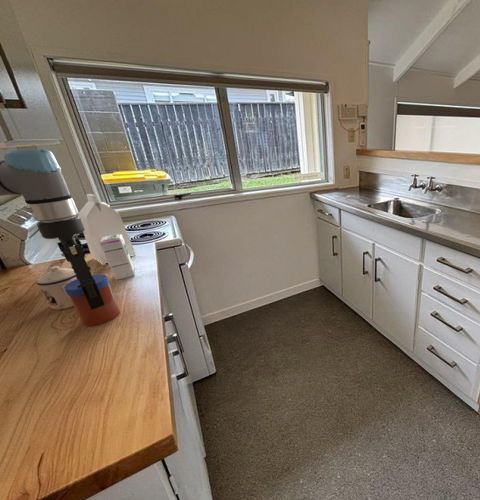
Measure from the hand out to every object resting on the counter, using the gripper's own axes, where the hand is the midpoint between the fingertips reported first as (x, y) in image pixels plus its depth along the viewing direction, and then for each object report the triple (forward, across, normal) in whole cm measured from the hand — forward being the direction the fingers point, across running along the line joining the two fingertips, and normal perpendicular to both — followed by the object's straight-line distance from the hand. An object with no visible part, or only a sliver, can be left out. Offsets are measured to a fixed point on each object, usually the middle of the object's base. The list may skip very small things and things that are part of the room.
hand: (94, 300), depth 75 cm
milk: (+5, -52, +12) cm, 53 cm away
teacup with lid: (+5, -16, -4) cm, 18 cm away
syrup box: (+5, -27, +11) cm, 29 cm away
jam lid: (-5, 0, 0) cm, 5 cm away
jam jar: (+5, 0, 0) cm, 5 cm away
